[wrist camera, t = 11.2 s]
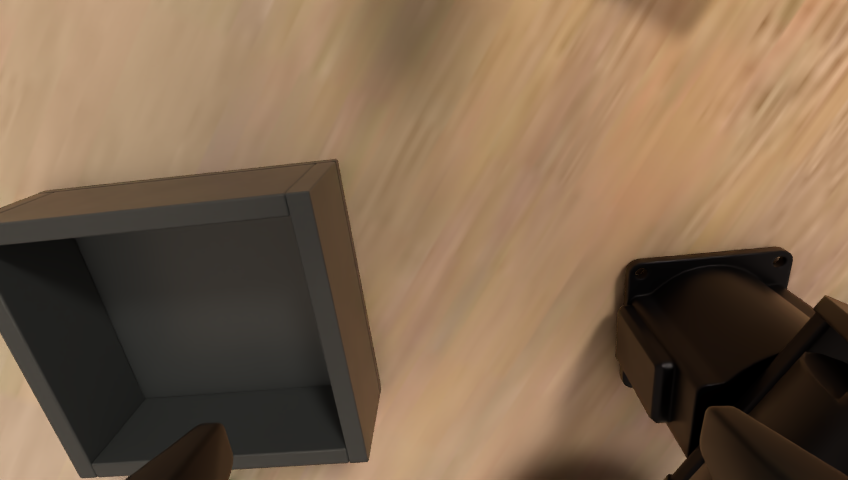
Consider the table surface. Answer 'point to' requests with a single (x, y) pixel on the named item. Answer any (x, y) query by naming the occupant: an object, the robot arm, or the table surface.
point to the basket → (193, 317)
